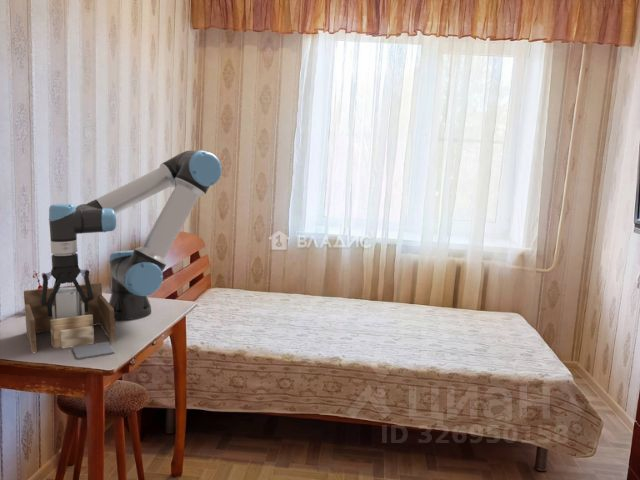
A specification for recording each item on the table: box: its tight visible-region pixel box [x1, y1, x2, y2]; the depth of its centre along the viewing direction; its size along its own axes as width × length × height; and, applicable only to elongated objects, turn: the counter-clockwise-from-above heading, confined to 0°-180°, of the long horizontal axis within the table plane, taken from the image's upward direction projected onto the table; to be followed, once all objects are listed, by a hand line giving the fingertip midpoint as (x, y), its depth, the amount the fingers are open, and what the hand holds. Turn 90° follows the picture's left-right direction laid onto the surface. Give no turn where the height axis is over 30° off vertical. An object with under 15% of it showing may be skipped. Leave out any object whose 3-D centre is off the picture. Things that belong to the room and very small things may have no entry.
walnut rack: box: [23, 282, 116, 353], centre depth 185 cm, size 23×21×14 cm
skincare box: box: [56, 287, 80, 319], centre depth 186 cm, size 8×6×15 cm
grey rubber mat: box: [72, 341, 115, 360], centre depth 173 cm, size 10×10×1 cm
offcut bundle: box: [50, 314, 95, 349], centre depth 179 cm, size 12×5×8 cm, turn 120°
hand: (68, 323), depth 187 cm, fingers open, 8 cm apart
